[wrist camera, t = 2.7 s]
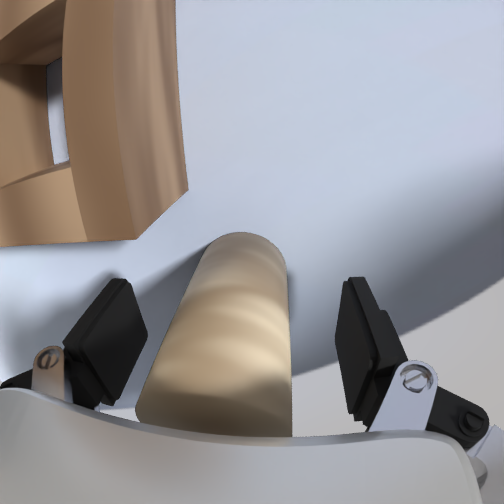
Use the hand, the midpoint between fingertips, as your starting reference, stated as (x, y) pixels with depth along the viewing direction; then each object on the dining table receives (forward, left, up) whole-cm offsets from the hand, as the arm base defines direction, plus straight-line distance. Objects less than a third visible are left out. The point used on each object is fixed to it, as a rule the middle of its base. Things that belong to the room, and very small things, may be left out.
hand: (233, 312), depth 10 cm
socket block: (+8, -14, -3) cm, 16 cm away
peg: (0, 0, -3) cm, 3 cm away
